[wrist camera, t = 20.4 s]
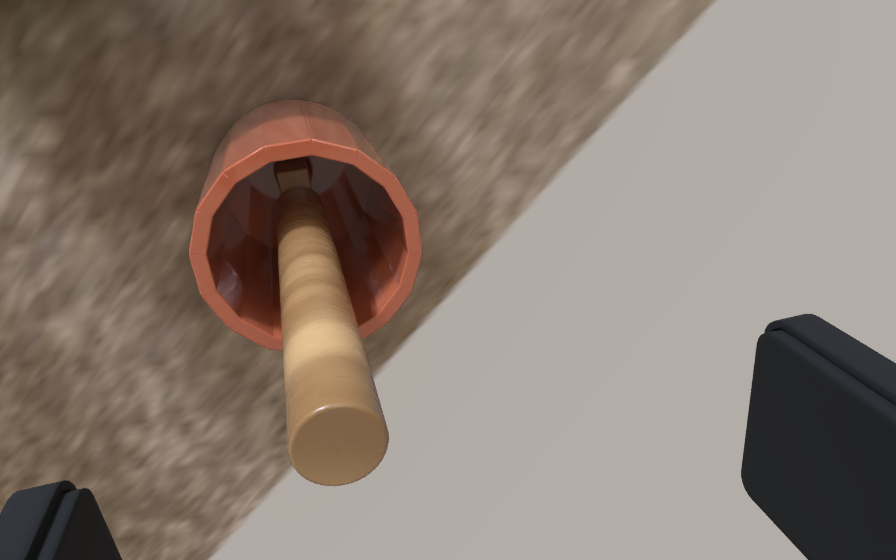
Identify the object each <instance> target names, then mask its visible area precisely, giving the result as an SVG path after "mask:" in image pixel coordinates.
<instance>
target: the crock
mask: <svg viewBox="0 0 896 560" xmlns="http://www.w3.org/2000/svg"><path fill="white" fill-rule="evenodd" d="M300 157H305V159H306V163H307V167H308V171H309V176H310V181H311V186H312V190H314V191H315V192H316V193H317V194H318V195H319V196H320V198H321V200H322V202H323V205H324V209H325V212H326V216H327V219H328V223H329V226H330V230H331V233H332V237H333V240H334V244H335V247H336V251H337V254H338V258H339V261H340V265H341V268H342V272H343V275H344V279H345V282H346V286H347V289H348V293H349V296H350V300H351V303H352V307H353V310H354V314H355V317H356V321H357V324H358V328H359V331H360V335H361V338H362V339H363V338H365V337H366V336H368V335H370V334H371V333H373V332H374V331H376V330H378V329H379V328H381V327H383V326H384V325H386V323H388V322H389V320H390V319H391V318H392V317H393V315H394V314H395V313H396V311H397V310H398V309H399V308H400V306H401V305H402V304H403V302H404V301H405V300H406V298H407V297H408V296H409V295H410V293H411V291H412V289H413V286H414V282H415V279H416V275H417V272H418V268H419V265H420V261H421V258H422V252H423V250H422V242H421V235H420V227H419V219H418V214H417V210H416V209H415V207H414V205H413V204H412V202H411V200H410V199H409V197H408V195H407V194H406V192H405V190H404V189H403V187H402V185H401V184H400V182H399V180H398V179H397V177H396V176H395V175H394V173H393V172H392V171H391V169H390V168H389V167H388V165H387V164H386V163H385V161H384V160H383V159H382V157H381V156H380V155H379V153H378V152H377V151H376V149H375V148H374V147H373V145H372V144H371V142H370V141H369V140H368V138H367V137H366V136H365V134H364V133H363V132H362V130H360V128H359V127H357V126H356V125H355V124H354V123H352V122H351V121H350V120H349V119H348V118H346V117H345V116H344V115H342V114H341V113H339V112H338V111H336V110H334V109H332V108H330V107H328V106H325V105H322V104H319V103H316V102H312V101H306V100H294V99H292V100H280V101H276V102H271V103H268V104H265V105H262V106H259V107H257V108H256V109H254V110H252V111H250V112H248V113H247V114H246V115H244V116H243V117H241V118H240V119H239V120H238V121H237V122H235V124H233V126H232V127H231V128H230V129H229V131H228V132H227V133H226V135H225V136H224V138H223V140H222V141H221V143H220V145H219V146H218V148H217V149H216V152H215V154H214V157H213V160H212V163H211V166H210V169H209V172H208V175H207V178H206V181H205V184H204V187H203V190H202V193H201V196H200V199H199V202H198V205H197V208H196V211H195V216H194V223H193V229H192V235H191V241H190V248H189V257H190V261H191V264H192V268H193V271H194V274H195V278H196V281H197V285H198V288H199V291H200V294H201V295H202V298H203V299H204V300H205V301H206V303H207V304H208V305H209V306H210V307H211V308H212V310H213V311H214V312H215V313H216V314H217V316H218V317H219V318H220V319H221V320H222V321H223V323H224V324H225V325H226V326H227V327H228V328H230V330H232V331H234V332H236V333H238V334H240V335H242V336H243V337H245V338H247V339H249V340H251V341H253V342H255V343H257V344H259V345H261V346H263V347H265V348H268V349H271V350H279V351H283V345H282V325H281V305H280V285H279V265H278V245H277V225H276V203H277V200H278V198H279V196H280V195H281V194H280V190H279V185H278V181H277V176H276V163H275V161H282V160H288V159H294V158H300Z"/></svg>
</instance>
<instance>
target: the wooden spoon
mask: <svg viewBox="0 0 896 560" xmlns="http://www.w3.org/2000/svg"><path fill="white" fill-rule="evenodd" d="M275 163H276V176H277V181H278V185H279V190H280V194H281V195H280V196H279V198H278V200H277V203H276V225H277V245H278V265H279V285H280V305H281V325H282V345H283V365H284V385H285V405H286V424H287V444H288V455H289V459H290V462H291V463H292V465H293V467H294V468H295V469H296V471H297V472H298V473H299V474H300V475H301V476H303V477H304V478H305V479H307V480H309V481H311V482H313V483H316V484H320V485H326V486H340V485H345V484H349V483H353V482H355V481H358V480H360V479H362V478H363V477H365V476H366V475H368V474H370V473H371V472H372V471H373V470H374V469H375V468H376V467H377V466H378V465H379V463H380V462H381V461H382V459H383V457H384V455H385V453H386V450H387V446H388V442H389V435H388V429H387V426H386V422H385V419H384V415H383V412H382V408H381V405H380V401H379V398H378V394H377V391H376V387H375V384H374V380H373V377H372V373H371V370H370V366H369V363H368V359H367V356H366V352H365V349H364V345H363V342H362V338H361V335H360V331H359V328H358V324H357V321H356V317H355V314H354V310H353V307H352V303H351V300H350V296H349V293H348V289H347V286H346V282H345V279H344V275H343V272H342V268H341V265H340V261H339V258H338V254H337V251H336V247H335V244H334V240H333V237H332V233H331V230H330V226H329V223H328V219H327V216H326V212H325V209H324V205H323V202H322V200H321V198H320V196H319V195H318V194H317V193H316V192H315V191H314V190H312V186H311V181H310V176H309V171H308V167H307V163H306V159H305V157H300V158H294V159H288V160H282V161H275Z"/></svg>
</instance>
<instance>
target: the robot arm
mask: <svg viewBox="0 0 896 560" xmlns="http://www.w3.org/2000/svg"><path fill="white" fill-rule="evenodd" d="M741 477H742V482H743V485H744V488H745V490H746V491H747V493H748V495H749V496H750V497H751V499H752V500H753V501H754V502H755V503H756V504H757V505H758V506H759V507H760V508H761V509H762V510H763V512H764V513H765V514H766V515H767V516H768V517H769V518H770V519H771V520H772V521H773V522H774V524H775V525H776V526H777V527H778V528H779V529H780V530H781V531H782V532H783V533H784V534H785V535H786V536H787V537H788V539H790V540H791V542H792V543H793V544H794V545H795V546H796V547H797V548H798V549H799V550H800V551H801V553H802V554H803V555H804V556H805V557H806V558H807V559H808V560H896V363H894V362H893V361H891V360H889V359H888V358H886V357H884V356H883V355H881V354H879V353H878V352H876V351H874V350H873V349H871V348H869V347H868V346H866V345H864V344H863V343H861V342H860V341H858V340H856V339H854V338H853V337H851V336H850V335H848V334H846V333H845V332H843V331H841V330H840V329H838V328H836V327H835V326H833V325H831V324H829V323H828V322H826V321H825V320H823V319H821V318H820V317H818V316H816V315H813V314H803V315H799V316H794V317H790V318H785V319H781V320H777V321H773V322H771V323H769V325H768V326H767V327H766V329H765V333H764V334H762V335H761V336H760V337H759V339H758V342H757V347H756V356H755V364H754V372H753V380H752V388H751V397H750V404H749V413H748V420H747V429H746V437H745V445H744V453H743V461H742V469H741ZM0 560H122V558H121V556H120V554H119V552H118V549H117V547H116V545H115V543H114V540H113V538H112V536H111V534H110V531H109V529H108V527H107V525H106V522H105V520H104V518H103V516H102V513H101V511H100V509H99V507H98V504H97V502H96V500H95V498H94V496H93V494H92V492H91V491H90V490H89V489H87V488H83V489H78V490H77V489H76V487H75V485H74V484H72V483H71V482H70V481H65V480H64V481H60V482H56V483H51V484H47V485H42V486H38V487H33V488H29V489H24V490H20V491H17V492H15V493H13V494H12V495H11V497H10V498H9V499H8V501H7V503H6V505H5V506H4V508H3V510H2V512H1V514H0Z"/></svg>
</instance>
